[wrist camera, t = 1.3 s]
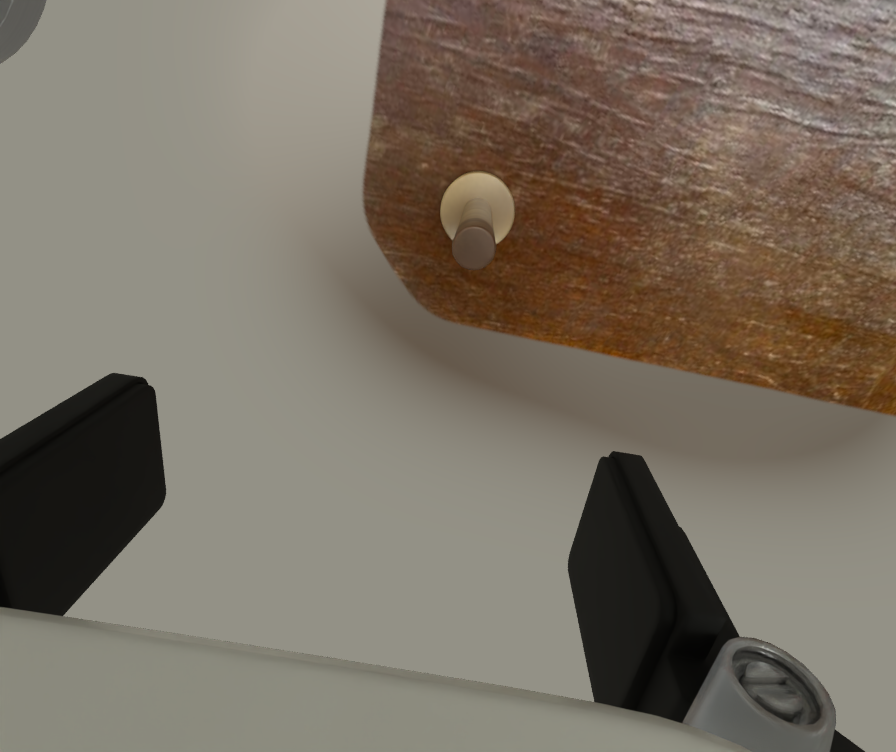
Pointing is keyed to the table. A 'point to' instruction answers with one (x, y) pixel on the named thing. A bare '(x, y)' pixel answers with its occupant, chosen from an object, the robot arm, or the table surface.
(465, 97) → the table surface
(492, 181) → the stirrer
